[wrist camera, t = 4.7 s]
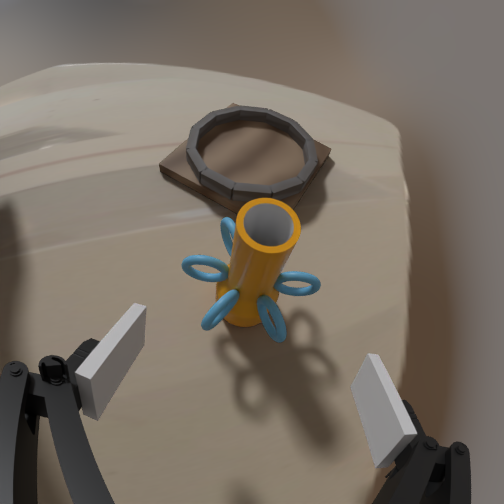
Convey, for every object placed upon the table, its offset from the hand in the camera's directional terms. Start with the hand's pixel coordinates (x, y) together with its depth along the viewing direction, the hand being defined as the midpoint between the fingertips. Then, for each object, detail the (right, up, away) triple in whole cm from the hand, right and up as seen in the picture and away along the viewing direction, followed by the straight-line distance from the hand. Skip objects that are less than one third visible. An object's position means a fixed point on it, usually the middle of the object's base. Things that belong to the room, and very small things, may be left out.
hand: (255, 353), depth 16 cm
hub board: (0, +19, +25) cm, 31 cm away
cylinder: (-1, 0, +15) cm, 16 cm away
